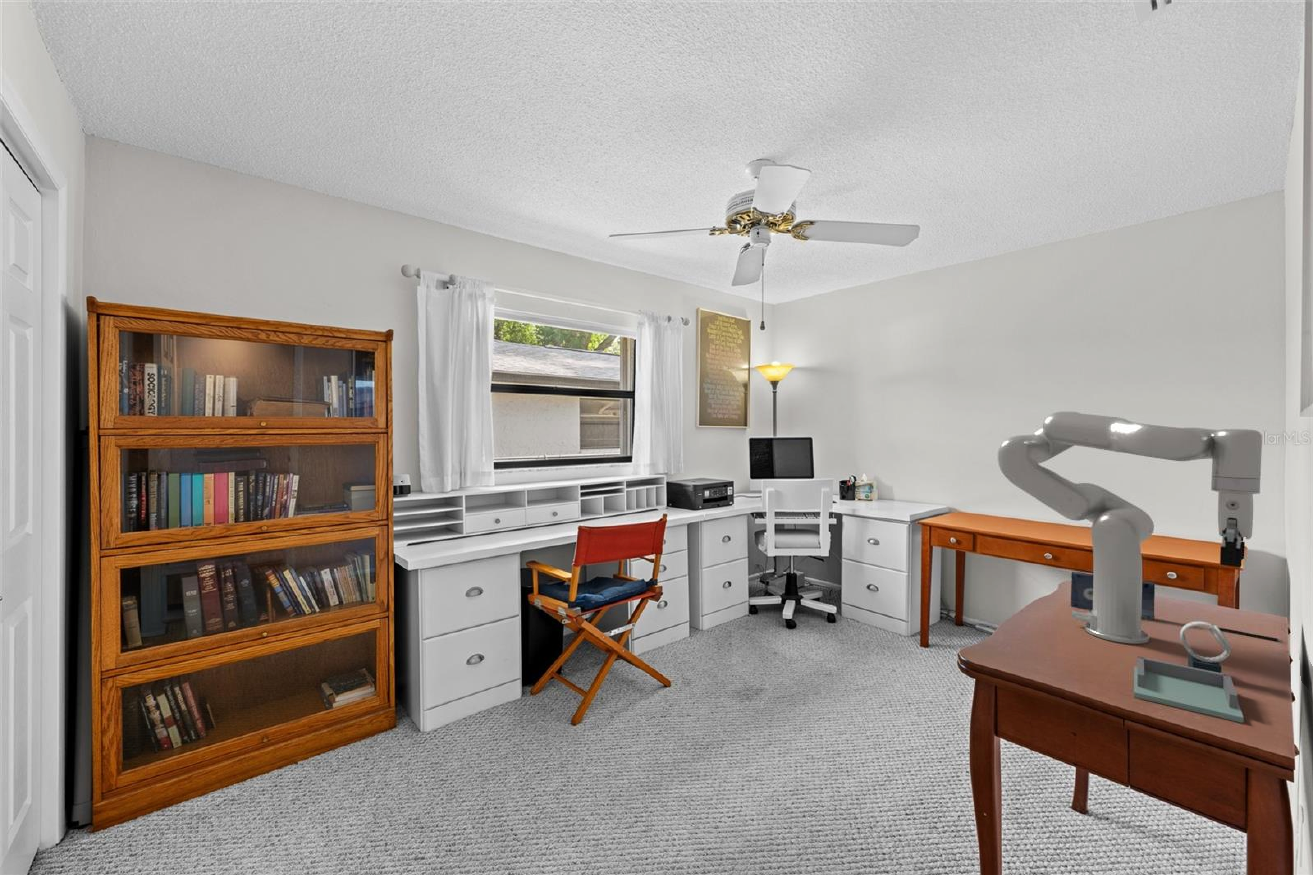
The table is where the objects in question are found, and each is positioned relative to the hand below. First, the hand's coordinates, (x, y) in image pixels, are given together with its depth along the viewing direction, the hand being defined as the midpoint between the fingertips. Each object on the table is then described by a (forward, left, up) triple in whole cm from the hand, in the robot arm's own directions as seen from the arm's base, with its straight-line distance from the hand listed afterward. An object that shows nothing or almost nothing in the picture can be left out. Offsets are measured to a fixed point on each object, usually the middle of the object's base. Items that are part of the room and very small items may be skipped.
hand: (1232, 562), depth 125 cm
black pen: (+5, +25, -23) cm, 35 cm away
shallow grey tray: (-9, -26, -23) cm, 36 cm away
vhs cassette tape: (-21, +26, -23) cm, 40 cm away
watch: (-5, -11, -23) cm, 26 cm away
